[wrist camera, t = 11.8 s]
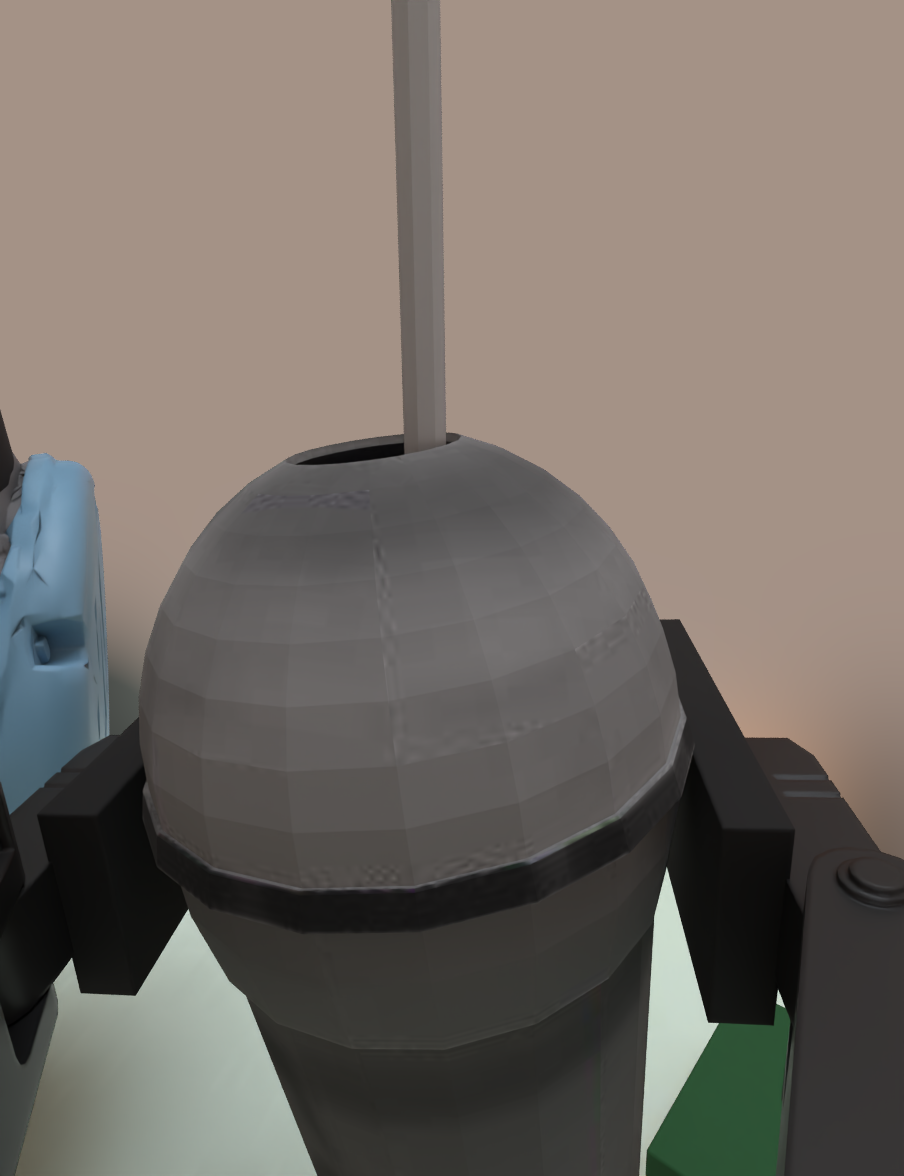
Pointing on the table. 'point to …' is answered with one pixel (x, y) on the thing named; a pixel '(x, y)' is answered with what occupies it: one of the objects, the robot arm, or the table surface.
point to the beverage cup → (423, 768)
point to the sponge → (727, 1106)
